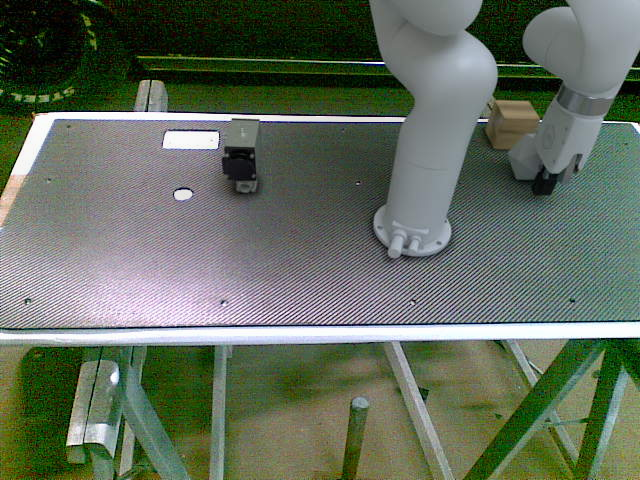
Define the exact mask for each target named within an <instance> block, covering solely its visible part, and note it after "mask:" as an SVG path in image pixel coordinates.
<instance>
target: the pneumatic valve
mask: <svg viewBox="0 0 640 480" xmlns="http://www.w3.org/2000/svg"><path fill="white" fill-rule="evenodd" d="M221 140H222V141H225V143H224V147H223V152H222V155H221V159H220V160H221V167H222V174H223V175H225V176H227V181H235V182H236V184H235V185H236V187H235V190H236V192H237V193H240V192H241V193H244V194H247V193H250V192H251V193H255V192H257V186H258V181H259V179H258V174H259V168H260V163H261V162H260V160H261V155H262V137H261V120H260V118H241V117H240V118H237V117H233V118H232V117H231V120H230V124H229V128H228V130H225V129H224V130H223V131H222V135H221Z"/></svg>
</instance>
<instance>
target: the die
mask: <svg viewBox="0 0 640 480" xmlns="http://www.w3.org/2000/svg"><path fill="white" fill-rule="evenodd" d="M535 134H536V133H535ZM535 134H525V135H524V136H523V137H522V138H521V139H520V140H519V141H518V143H517V144H516V145H515V146H514V147H513V148H512V149H509V150H508V152H507V153H506V154H507V156H508V157H507V158H508V160H509V163H510V165H511V168H512V169H511V170H512V171H513V174H514V177H515V180H521V181H523V180H524V181H534V179H535V177H536V175H537V173H538V171H539V169H538V166H539V163H540V160H541V158H540V157H539V155H538V153H537V151H536V149H535V147H534V144H533V139H534V136H535Z"/></svg>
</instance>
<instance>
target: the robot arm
mask: <svg viewBox="0 0 640 480" xmlns="http://www.w3.org/2000/svg"><path fill="white" fill-rule="evenodd" d="M483 1H484V0H368V2H369V6H370V12H371V17H372V21H373V26H374V32H375V36H376V41H377V45H378V49H379V54H380V56H381V59H382V61H383V64H384V65H385V67H386V69H387V70H388V71H389V72H390V73H391V74H392V76H393V77H394V78H396V79H397V81H399V82H400V83H401V84H402V85H403V86H404V88H405V89H406V90H407V91H408V92H409V93H410V94H411V95H412V96H413V99H414V103H413V107H412V110H410V113H408V115H407V116H406V117H405V118H404V120H403V122H402V124H401V125H400V129H399V133H398V137H397V142H396V150H395V155H394V161H393V165H392V172H391V177H390V182H389V188H388V194H387V199H386V203H385V204H383V205H382V206H380V207H379V208H378V210H377V211H376V212H375V214H374V216H373V221H372V229H373V232H374V234H375V236H376V238H377V239H378V240H379V241H380V243H381V244H382V245H384V246H385V247H386V248H387V249H388V250H387V255H388V256H389V257H390V258H392V259H398V258H400V257H401V255H404V256H408V257H416V258H417V257H428V256H433V255H436V254H437V253H440V252H441V251H442V250H444V249H445V248H446V247H447V246H448V244H449V242H450V240H451V237H452V224H451V222H450V221H449V218H448V217H447V216H448V213H449V209H450V206H451V203H452V200H453V198H454V197H453V196H454V193H455V190H456V187H457V184H458V181H459V177H460V173H461V170H462V168H463V164H464V161H465V158H466V154H467V151H468V147H469V145H470V142H471V139H472V136H473V134H474V130H475V128H476V126H477V124H478V122H479V119H480V117H481V116H482V114H483V112H484V111H485V108H486V107H487V105H488V103H489V102H490V100H491V98H492V96H493V94H494V92H495V90H496V87H497V83H498V78H499V71H498V65H497V62H496V60H495V57H494V55H493V54H492V52H491V51H490V50H489V49H488V48H487V46H486V45H485V44H484V43H483V42H481V40H479V39H478V38H477V37H475V36H474V35H472V34H471V33H470V32H468V31H467V30H466V29H467V28H469V26H470V25H472V23H473V22H474V21H475V19H476V18H477V16H478V15H479V13H480V10H481V8H482V5H483ZM565 2H566V3H567V5H568V6H558V7H557V6H556V7H552V8H549V9H546V10H543V11H542V12H540V13H538V14H537V15H536V16H535V17H534V18H533V19H532V20H531V21H530V22H529V23H528V24H527V26H526V28H525V30H524V33H523V35H522V47H523V51H524V52H525V54H526V55H527V57H528V58H529V59H530V61H532V62H534V63H535V64H537V65H538V66H539V67H541V68H543V69H544V70H546V71H547V72H549V73H550V74H553V75H554V76H556V77H557V78H559V79H561V80H562V81H561V85H560V87H559V89H558V92H557V93H556V95H555V96H554V98H553V99H552V101H551V102H550V103H549V106H548V107H547V109H546V111H545V113H544V114H543V116H542V119H541V120H540V122H539V124H538V127H537V129H536V132H535V136H534V139H533V144H534V147H535V149H536V151H537V153H538V155H539V157H540V158H541V160H540V163H539V166H538V169H539V171H538V173H537V175H536V177H535V179H534V180H533V182H532V184H531V185H530V190H531V191H532V195H534V196H552V194H553V192H554V190H555V188H556V187H557V184H558V182H559V184H570V182H571V179H572V176H573V174H574V175H578V174H579V173H580V172H581V171H582V169H583V168H584V166H585V164H586V163H587V161H588V159H589V157H590V155H591V153H592V150H593V149H594V146H595V144H596V141H597V139H598V136H599V134H600V131H601V129H602V125H603V122H604V118H605V117H606V116H607V114H608V113H609V111H610V109H611V106H612V104H613V103H614V101H615V99H616V97H617V95H618V93H619V91H620V90H621V88H622V85H623V83H624V82H625V80H626V77H627V76H628V74H629V72H630V70H631V69H632V66H633V64H634V62H635V60H636V58H637V56H638V54H639V53H640V0H565Z"/></svg>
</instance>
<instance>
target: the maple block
mask: <svg viewBox="0 0 640 480" xmlns="http://www.w3.org/2000/svg"><path fill="white" fill-rule="evenodd" d="M540 123H541V117H540V116H539V114H538V113H537V112H536V110H535V109H534V106H533V105H532V104H531V102H530V101H529V100H507V99H506V100H504V99H495V100H494V101H493V105H492V108H491V111H490V113H489V116H488V119H487V123H486V125H485V129H484V132H485V133H486V135H487V138H488V140H489V142H490V144H491V146H492V148H493V150H511V149H512V148H513V147H514V146H515V145H516V144H517V143H518V141H519V140H520V139H521V138H522V137H523V136H524V135H525V134H536V132H537V129H538V127H539V125H540Z"/></svg>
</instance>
